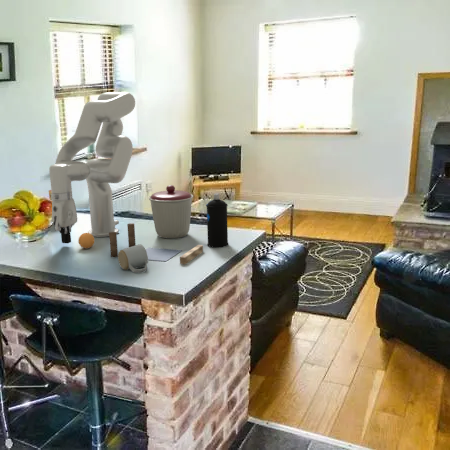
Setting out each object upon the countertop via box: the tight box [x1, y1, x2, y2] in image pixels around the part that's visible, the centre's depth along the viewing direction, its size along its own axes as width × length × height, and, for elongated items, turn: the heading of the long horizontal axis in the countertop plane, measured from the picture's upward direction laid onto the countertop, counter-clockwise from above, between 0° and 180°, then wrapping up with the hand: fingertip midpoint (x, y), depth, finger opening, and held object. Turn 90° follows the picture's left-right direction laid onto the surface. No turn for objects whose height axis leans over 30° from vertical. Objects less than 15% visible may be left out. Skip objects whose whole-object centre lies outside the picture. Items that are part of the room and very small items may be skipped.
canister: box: [148, 184, 194, 240], centre depth 228 cm, size 18×18×21 cm
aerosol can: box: [205, 193, 229, 249], centre depth 213 cm, size 8×8×20 cm
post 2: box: [127, 222, 137, 248], centre depth 215 cm, size 3×3×9 cm
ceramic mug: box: [117, 244, 149, 274], centre depth 188 cm, size 11×8×8 cm
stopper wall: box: [179, 244, 204, 265], centre depth 200 cm, size 16×2×2 cm, turn 160°
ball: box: [78, 232, 95, 249], centre depth 215 cm, size 6×6×6 cm
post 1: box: [108, 232, 119, 258], centre depth 203 cm, size 3×3×9 cm
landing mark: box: [145, 246, 183, 262], centre depth 205 cm, size 14×14×1 cm
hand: (66, 242), depth 218 cm, fingers closed
